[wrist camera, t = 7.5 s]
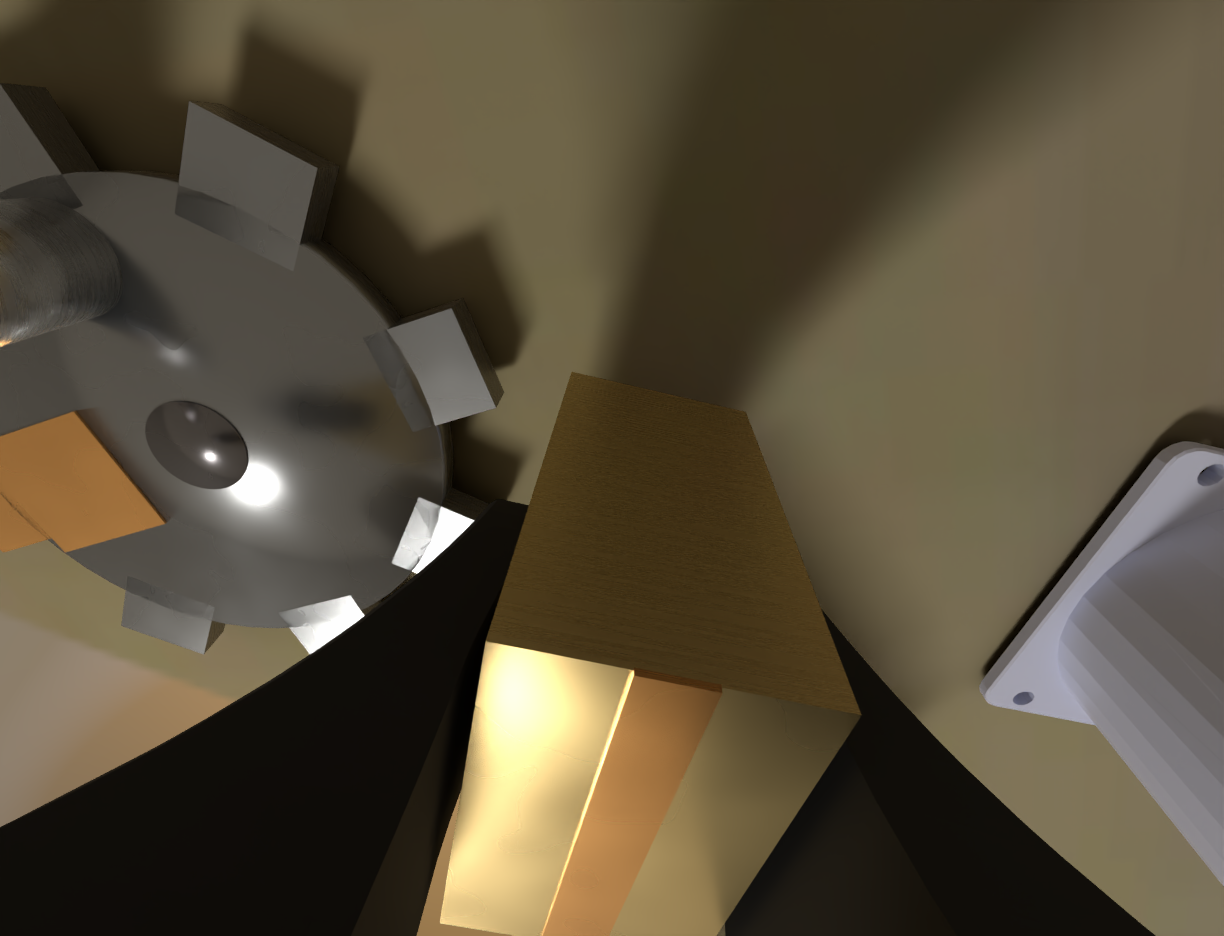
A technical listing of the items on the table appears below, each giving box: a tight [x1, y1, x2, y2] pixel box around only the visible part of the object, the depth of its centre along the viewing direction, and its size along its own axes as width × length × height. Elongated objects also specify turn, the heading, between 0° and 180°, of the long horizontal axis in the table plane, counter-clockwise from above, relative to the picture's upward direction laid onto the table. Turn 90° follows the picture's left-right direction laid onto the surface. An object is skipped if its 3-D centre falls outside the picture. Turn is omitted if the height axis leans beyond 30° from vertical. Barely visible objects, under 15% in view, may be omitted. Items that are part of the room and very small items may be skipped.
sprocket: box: [0, 83, 504, 654], centre depth 11 cm, size 12×12×4 cm
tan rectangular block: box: [440, 372, 862, 936], centre depth 8 cm, size 3×4×6 cm, turn 167°
